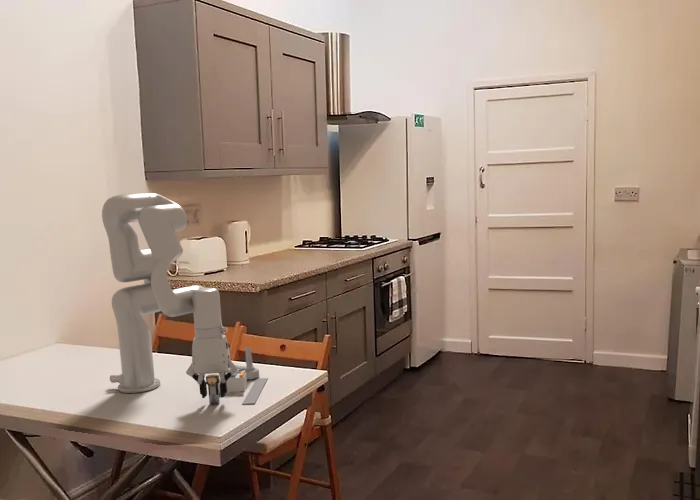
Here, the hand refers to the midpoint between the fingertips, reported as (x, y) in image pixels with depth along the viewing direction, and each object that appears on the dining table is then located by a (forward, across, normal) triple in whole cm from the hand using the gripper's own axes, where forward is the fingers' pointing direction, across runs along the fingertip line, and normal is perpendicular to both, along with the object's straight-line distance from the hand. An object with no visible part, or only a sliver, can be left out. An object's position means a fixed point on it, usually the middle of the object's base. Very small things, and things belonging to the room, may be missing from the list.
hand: (213, 395), depth 196 cm
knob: (+2, 0, 0) cm, 2 cm away
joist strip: (+2, -10, -10) cm, 14 cm away
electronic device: (+3, -2, -27) cm, 27 cm away
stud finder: (+3, -3, -12) cm, 13 cm away
